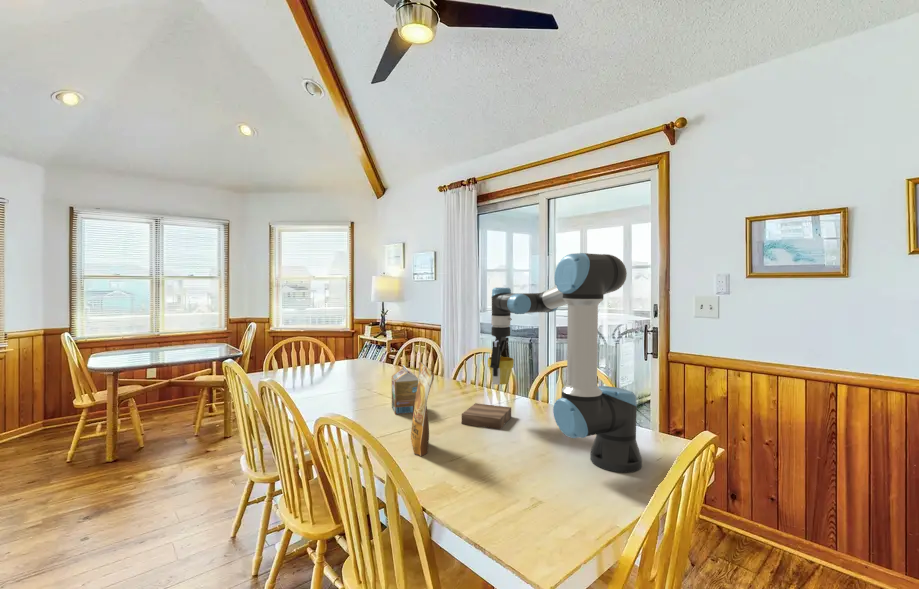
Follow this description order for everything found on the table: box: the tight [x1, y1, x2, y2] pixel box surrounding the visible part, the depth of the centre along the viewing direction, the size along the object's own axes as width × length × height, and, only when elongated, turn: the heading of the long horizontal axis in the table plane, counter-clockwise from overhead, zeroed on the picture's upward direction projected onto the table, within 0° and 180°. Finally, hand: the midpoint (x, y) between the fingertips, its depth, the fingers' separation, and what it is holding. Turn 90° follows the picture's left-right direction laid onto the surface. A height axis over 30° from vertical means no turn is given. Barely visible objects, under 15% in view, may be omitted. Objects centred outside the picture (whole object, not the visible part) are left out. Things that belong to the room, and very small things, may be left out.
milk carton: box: [391, 364, 418, 415], centre depth 186 cm, size 11×11×19 cm
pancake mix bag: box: [410, 361, 435, 457], centre depth 144 cm, size 7×19×28 cm, turn 11°
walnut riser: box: [461, 402, 512, 430], centre depth 172 cm, size 16×16×4 cm
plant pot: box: [487, 356, 515, 385], centre depth 169 cm, size 10×10×10 cm
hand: (500, 381), depth 169 cm, fingers closed on plant pot, 10 cm apart
